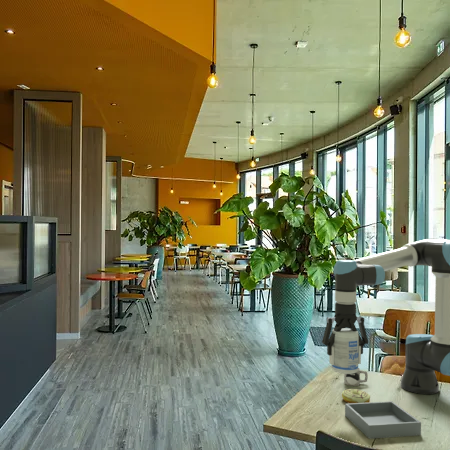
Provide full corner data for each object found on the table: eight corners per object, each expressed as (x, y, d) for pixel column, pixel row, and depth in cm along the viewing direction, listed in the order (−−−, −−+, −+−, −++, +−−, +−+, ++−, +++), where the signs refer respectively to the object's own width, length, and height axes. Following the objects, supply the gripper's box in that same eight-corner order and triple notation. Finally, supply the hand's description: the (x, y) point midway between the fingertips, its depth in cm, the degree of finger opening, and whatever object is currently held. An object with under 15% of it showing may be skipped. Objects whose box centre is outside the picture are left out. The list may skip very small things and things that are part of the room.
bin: (391, 412, 175) (392, 401, 175) (420, 435, 157) (421, 422, 157) (345, 415, 172) (345, 403, 172) (369, 438, 154) (369, 425, 154)
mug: (345, 385, 204) (345, 370, 204) (343, 380, 210) (343, 365, 210) (368, 387, 203) (369, 371, 203) (366, 381, 209) (366, 367, 209)
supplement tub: (354, 376, 165) (354, 334, 165) (328, 372, 170) (328, 331, 170) (361, 369, 174) (361, 329, 174) (336, 364, 179) (336, 326, 178)
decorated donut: (364, 409, 179) (364, 399, 179) (337, 402, 185) (338, 392, 185) (373, 400, 187) (373, 391, 187) (347, 394, 194) (347, 385, 194)
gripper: (369, 300, 177) (368, 359, 177) (313, 301, 174) (312, 361, 174) (378, 303, 170) (378, 365, 170) (320, 304, 166) (319, 367, 167)
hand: (345, 363), depth 172 cm, fingers closed on supplement tub, 9 cm apart
